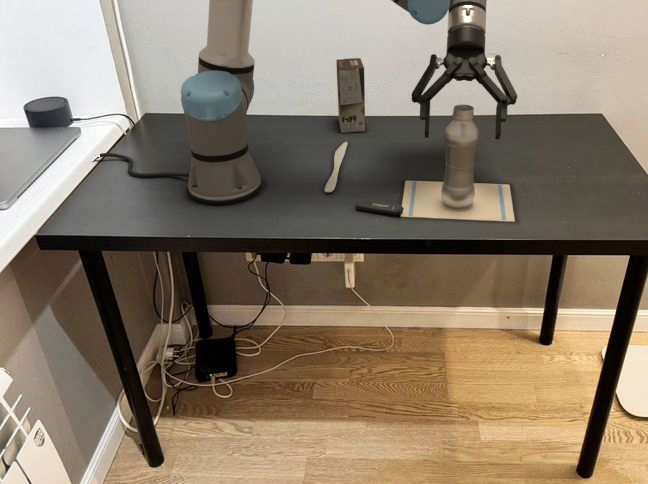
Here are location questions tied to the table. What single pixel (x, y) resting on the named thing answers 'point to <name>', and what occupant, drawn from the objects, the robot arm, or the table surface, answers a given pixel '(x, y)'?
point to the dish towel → (486, 206)
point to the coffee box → (351, 95)
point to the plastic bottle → (460, 158)
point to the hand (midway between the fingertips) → (462, 136)
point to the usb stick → (379, 207)
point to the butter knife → (336, 167)
